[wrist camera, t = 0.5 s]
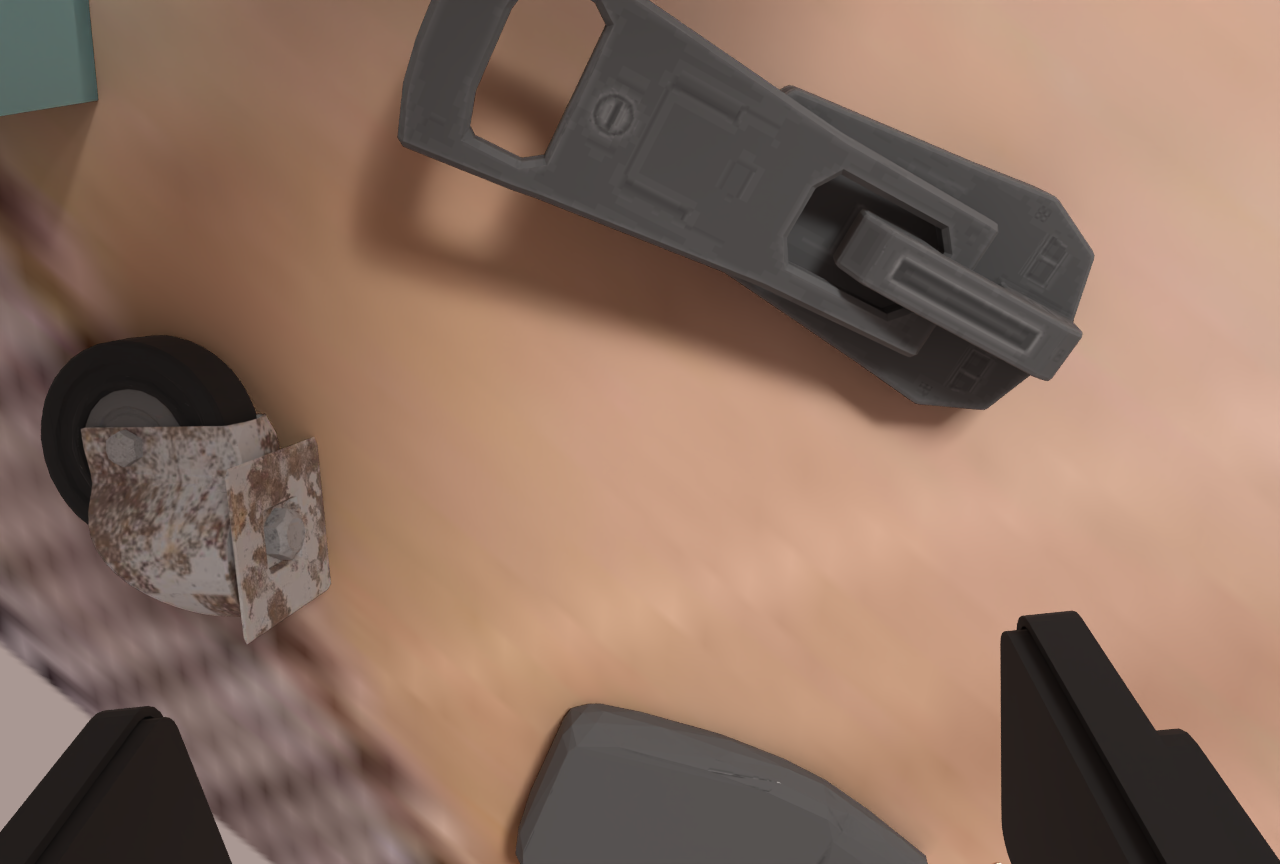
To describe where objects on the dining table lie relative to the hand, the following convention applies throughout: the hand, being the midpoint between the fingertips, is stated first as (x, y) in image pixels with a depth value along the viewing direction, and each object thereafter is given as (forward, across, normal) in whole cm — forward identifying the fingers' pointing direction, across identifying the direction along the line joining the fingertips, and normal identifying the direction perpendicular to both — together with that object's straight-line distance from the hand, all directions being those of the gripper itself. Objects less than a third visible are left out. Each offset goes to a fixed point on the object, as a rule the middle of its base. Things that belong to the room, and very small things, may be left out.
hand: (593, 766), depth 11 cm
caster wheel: (+30, +20, +7) cm, 37 cm away
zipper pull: (+30, -5, -1) cm, 31 cm away
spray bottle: (+30, -2, +32) cm, 44 cm away
